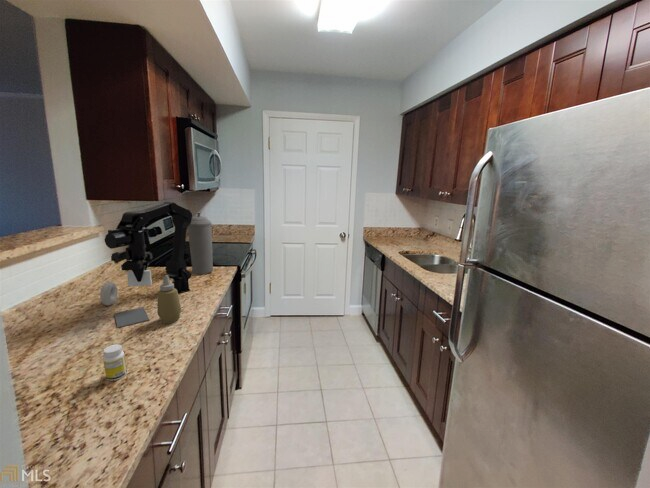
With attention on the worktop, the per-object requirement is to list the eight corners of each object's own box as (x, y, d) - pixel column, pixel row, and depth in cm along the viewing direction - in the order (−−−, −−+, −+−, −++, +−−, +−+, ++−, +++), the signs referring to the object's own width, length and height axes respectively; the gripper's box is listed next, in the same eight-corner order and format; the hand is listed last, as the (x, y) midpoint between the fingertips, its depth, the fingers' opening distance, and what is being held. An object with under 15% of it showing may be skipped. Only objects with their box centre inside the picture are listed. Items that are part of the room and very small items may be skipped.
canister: (206, 267, 179) (202, 210, 171) (219, 271, 171) (215, 212, 164) (186, 272, 168) (181, 212, 161) (198, 277, 161) (194, 213, 154)
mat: (143, 307, 122) (143, 307, 122) (149, 320, 111) (149, 319, 111) (114, 314, 116) (114, 313, 116) (117, 328, 105) (117, 327, 105)
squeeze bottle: (186, 317, 115) (183, 273, 111) (170, 326, 107) (165, 280, 103) (170, 314, 117) (166, 271, 113) (153, 323, 110) (148, 277, 106)
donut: (109, 309, 120) (106, 286, 118) (100, 309, 119) (96, 286, 117) (120, 299, 130) (117, 278, 128) (111, 300, 129) (108, 278, 127)
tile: (152, 283, 122) (150, 269, 121) (151, 285, 120) (149, 271, 119) (130, 285, 120) (128, 271, 118) (128, 286, 118) (126, 272, 117)
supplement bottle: (113, 370, 82) (109, 343, 81) (130, 369, 83) (127, 343, 81) (101, 381, 78) (97, 353, 76) (120, 381, 78) (116, 353, 76)
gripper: (121, 239, 123) (125, 275, 126) (102, 249, 105) (107, 290, 109) (151, 239, 126) (154, 273, 129) (137, 248, 109) (142, 288, 112)
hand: (140, 280), depth 120 cm, fingers closed on tile, 2 cm apart
